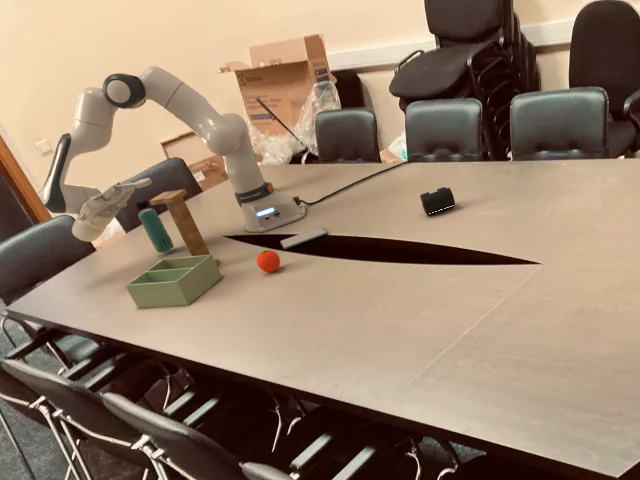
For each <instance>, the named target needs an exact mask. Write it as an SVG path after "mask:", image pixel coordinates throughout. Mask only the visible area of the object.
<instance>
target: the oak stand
mask: <svg viewBox="0 0 640 480" xmlns="http://www.w3.org/2000/svg"><path fill="white" fill-rule="evenodd" d="M187 194H188V191H187V189H186V188H183V189H177V190H169V191H163V192H162V193H160V194H158V195H157V196H155V197H153V198H151V199H150V200H149V203H150V205H151V206H156V205H164V204H165V206H166V208H167V210H168V212H169V214H170V216H171V218H172V220H173V222H174V224H175V226H176V228H177V230H178V232H179V234H180V236H181V238H182V241H183V243H184V244H185V246H186V248H187V250H188V252H189V255H190V256H200V255H211V252H210V250H209V248H208V246H207V244H206V243H205V240H204V239H203V236H202V234H201V232H200V230H199V228H198V226H197V224H196V222H195V219H194V217H193V216H192V214H191V212H190V209H189V207H188V205H187V203H186V201H185V199H184V197H185V196H186V195H187ZM214 260H215V262H216V264H217V266H218V265H220V264H221V261H220V258H214Z"/></svg>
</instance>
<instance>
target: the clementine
mask: <svg viewBox="0 0 640 480" xmlns="http://www.w3.org/2000/svg"><path fill="white" fill-rule="evenodd" d="M256 264H257V266H258V268H259V269H260V270H261V271H263V272H265V273H274V272H276V271H277V270H278V269H279V268H280V265H281V258H280V256H279V254H278V253H277V252H276V251H274V250H272V249H267V248H265V249H262V250H261V251H260V252H259V253H258V255H257V258H256Z"/></svg>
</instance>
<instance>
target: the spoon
mask: <svg viewBox="0 0 640 480" xmlns="http://www.w3.org/2000/svg"><path fill="white" fill-rule="evenodd" d="M152 184H153V180H152V179H151V177H145V178H142V179H139V180H136V181H135V182H130V184H123V185H115V184H114V185H115V187H117V189H124V188H131V187H135V189H142V188H145V187H149V186H150V185H152Z"/></svg>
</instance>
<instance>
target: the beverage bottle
mask: <svg viewBox="0 0 640 480" xmlns="http://www.w3.org/2000/svg"><path fill="white" fill-rule="evenodd" d="M149 206H150V204H149V202H148V201H147V199H143V200H139V201H138V202H136V203H135V207H136V209H137V210H138V211H139V210H140V212H139V213H138V219H139V221H140V223H141V224H142V227H143V229H144V230H145V232H146V235H147V237H148V239H150V242H151V244H152V246H153V248H154V249H155V251H156V252H157V253H158V254H162V253H166V252H169V251H170V250H172V249H173V248H174V247H175V246H174V243H173V240H172V239H171V237H170V235H169V233H168V231H167V230H166V228H165V225H164V223H163V222H162V219H161V218H160V216H159V215H158V213H157V210H156V209H155V208H151V207H150V208H148V207H149Z"/></svg>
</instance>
